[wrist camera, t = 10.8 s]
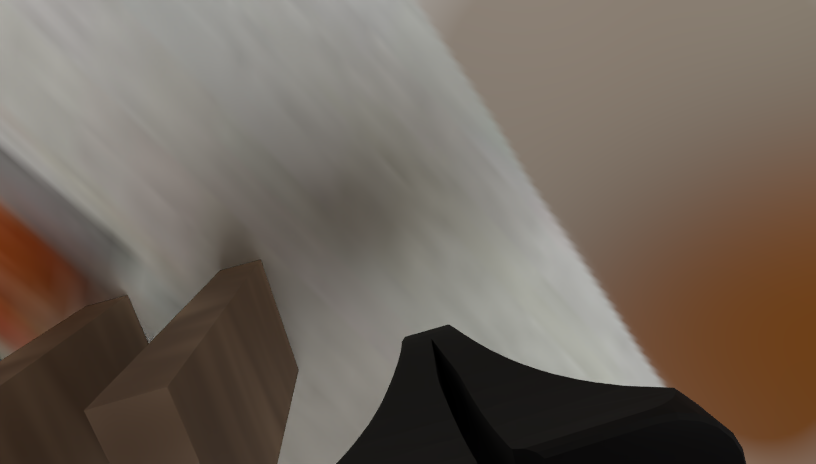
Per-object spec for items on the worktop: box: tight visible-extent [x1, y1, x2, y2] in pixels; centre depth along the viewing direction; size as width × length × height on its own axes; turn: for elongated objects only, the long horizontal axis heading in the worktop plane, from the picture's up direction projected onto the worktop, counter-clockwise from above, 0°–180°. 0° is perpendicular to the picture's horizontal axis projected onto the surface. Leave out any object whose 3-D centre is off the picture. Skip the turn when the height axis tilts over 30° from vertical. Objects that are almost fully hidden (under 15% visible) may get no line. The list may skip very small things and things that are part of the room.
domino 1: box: [0, 295, 148, 464], centre depth 13 cm, size 2×5×9 cm, turn 14°
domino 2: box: [84, 260, 298, 464], centre depth 13 cm, size 2×5×9 cm, turn 14°
